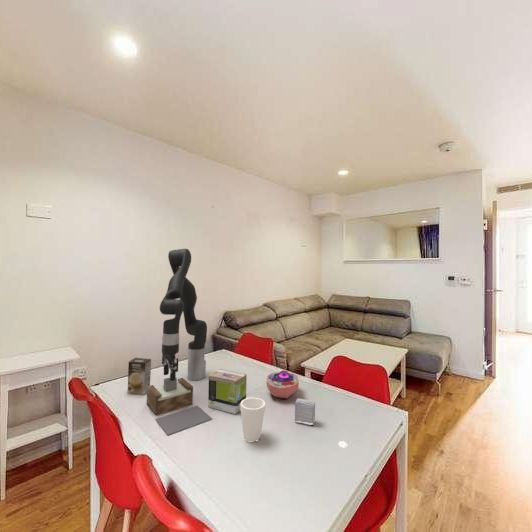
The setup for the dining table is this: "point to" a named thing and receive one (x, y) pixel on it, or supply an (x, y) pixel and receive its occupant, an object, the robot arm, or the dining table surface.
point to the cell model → (282, 384)
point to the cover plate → (172, 393)
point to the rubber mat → (182, 420)
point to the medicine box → (305, 410)
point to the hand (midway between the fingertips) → (169, 377)
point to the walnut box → (169, 403)
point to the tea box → (226, 390)
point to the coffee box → (139, 376)
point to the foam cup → (252, 417)
